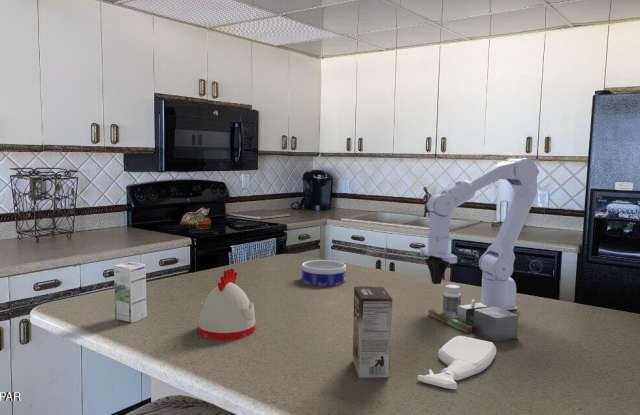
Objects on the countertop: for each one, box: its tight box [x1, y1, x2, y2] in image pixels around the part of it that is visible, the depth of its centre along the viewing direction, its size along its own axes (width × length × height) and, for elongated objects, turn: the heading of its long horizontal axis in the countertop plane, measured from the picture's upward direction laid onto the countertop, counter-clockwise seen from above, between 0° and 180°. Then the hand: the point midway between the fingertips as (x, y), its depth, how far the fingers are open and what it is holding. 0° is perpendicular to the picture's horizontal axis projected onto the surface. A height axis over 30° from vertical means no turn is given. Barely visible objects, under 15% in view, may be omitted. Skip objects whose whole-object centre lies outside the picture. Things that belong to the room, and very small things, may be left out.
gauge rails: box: [427, 308, 473, 334], centre depth 139 cm, size 11×16×2 cm
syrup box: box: [113, 261, 148, 324], centre depth 134 cm, size 6×6×14 cm
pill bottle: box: [442, 284, 462, 319], centre depth 143 cm, size 5×5×8 cm
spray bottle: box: [417, 335, 497, 390], centre depth 108 cm, size 3×11×24 cm
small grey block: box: [457, 299, 488, 328], centre depth 134 cm, size 7×7×7 cm
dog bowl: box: [301, 259, 347, 287], centre depth 181 cm, size 15×15×6 cm
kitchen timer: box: [197, 268, 256, 341], centre depth 128 cm, size 14×14×15 cm
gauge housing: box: [472, 307, 519, 343], centre depth 128 cm, size 7×8×6 cm
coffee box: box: [352, 285, 393, 379], centre depth 106 cm, size 9×6×16 cm
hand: (436, 283), depth 149 cm, fingers closed
